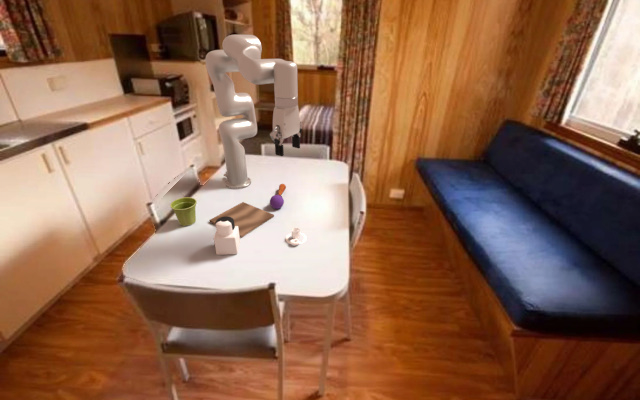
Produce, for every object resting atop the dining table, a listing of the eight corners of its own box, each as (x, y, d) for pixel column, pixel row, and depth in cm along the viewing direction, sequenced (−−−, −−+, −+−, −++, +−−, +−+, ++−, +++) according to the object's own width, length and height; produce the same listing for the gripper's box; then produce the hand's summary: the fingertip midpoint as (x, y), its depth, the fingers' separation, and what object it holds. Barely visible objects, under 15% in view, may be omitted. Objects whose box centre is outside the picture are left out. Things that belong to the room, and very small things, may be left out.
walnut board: (209, 222, 123) (209, 219, 122) (243, 203, 136) (242, 201, 135) (241, 237, 114) (241, 235, 113) (274, 216, 127) (273, 214, 127)
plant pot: (205, 218, 125) (201, 199, 121) (189, 230, 117) (185, 211, 113) (186, 214, 127) (182, 195, 123) (169, 225, 120) (164, 206, 115)
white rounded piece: (297, 249, 109) (297, 240, 107) (279, 242, 113) (279, 232, 111) (311, 237, 116) (311, 228, 114) (293, 230, 119) (293, 221, 117)
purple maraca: (289, 182, 147) (283, 200, 129) (287, 193, 149) (281, 212, 131) (277, 180, 147) (269, 197, 128) (275, 191, 149) (267, 209, 131)
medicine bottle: (220, 242, 111) (215, 214, 105) (240, 241, 112) (236, 213, 106) (216, 255, 105) (210, 226, 99) (237, 254, 106) (233, 225, 100)
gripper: (292, 96, 110) (293, 143, 118) (260, 105, 97) (264, 156, 105) (310, 99, 107) (310, 146, 115) (279, 108, 94) (281, 160, 102)
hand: (288, 151), depth 110 cm, fingers open, 9 cm apart
